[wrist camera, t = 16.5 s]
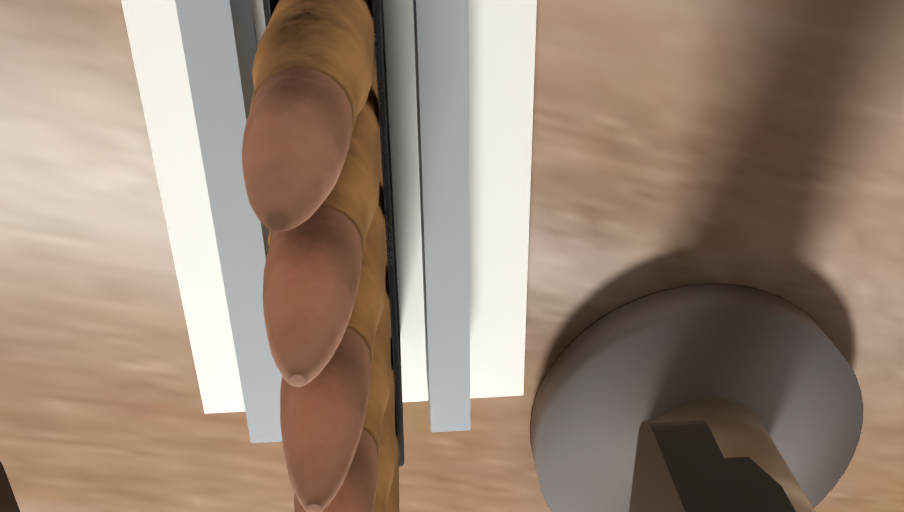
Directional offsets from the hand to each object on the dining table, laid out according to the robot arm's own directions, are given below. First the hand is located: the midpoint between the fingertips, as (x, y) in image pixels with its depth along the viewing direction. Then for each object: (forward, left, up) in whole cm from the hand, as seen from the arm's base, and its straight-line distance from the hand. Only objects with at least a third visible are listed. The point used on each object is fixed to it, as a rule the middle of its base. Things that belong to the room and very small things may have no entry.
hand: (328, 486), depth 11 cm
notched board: (0, 0, -12) cm, 12 cm away
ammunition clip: (0, 0, -11) cm, 11 cm away
